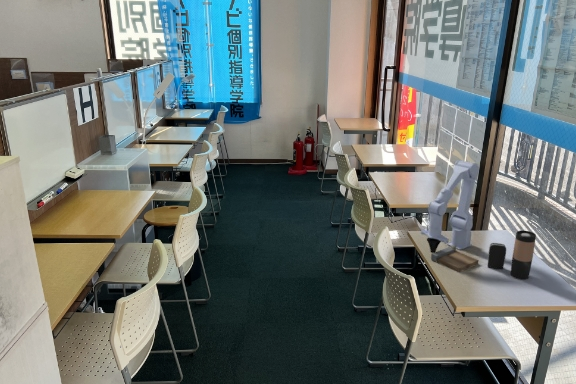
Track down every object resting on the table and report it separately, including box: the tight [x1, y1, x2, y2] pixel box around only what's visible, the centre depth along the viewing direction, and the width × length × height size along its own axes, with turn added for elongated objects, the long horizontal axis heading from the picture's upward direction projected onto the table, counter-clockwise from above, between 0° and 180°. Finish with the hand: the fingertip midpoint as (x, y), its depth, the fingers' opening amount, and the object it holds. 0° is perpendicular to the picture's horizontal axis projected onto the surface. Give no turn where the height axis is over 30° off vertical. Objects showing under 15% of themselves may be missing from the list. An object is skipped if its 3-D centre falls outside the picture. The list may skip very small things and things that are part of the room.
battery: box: [486, 242, 507, 270], centre depth 201 cm, size 7×4×11 cm, turn 69°
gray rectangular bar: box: [430, 246, 454, 263], centre depth 212 cm, size 13×3×3 cm, turn 124°
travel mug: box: [510, 229, 537, 280], centre depth 191 cm, size 8×8×20 cm
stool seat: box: [436, 245, 479, 273], centre depth 207 cm, size 15×15×4 cm
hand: (433, 252), depth 214 cm, fingers closed
